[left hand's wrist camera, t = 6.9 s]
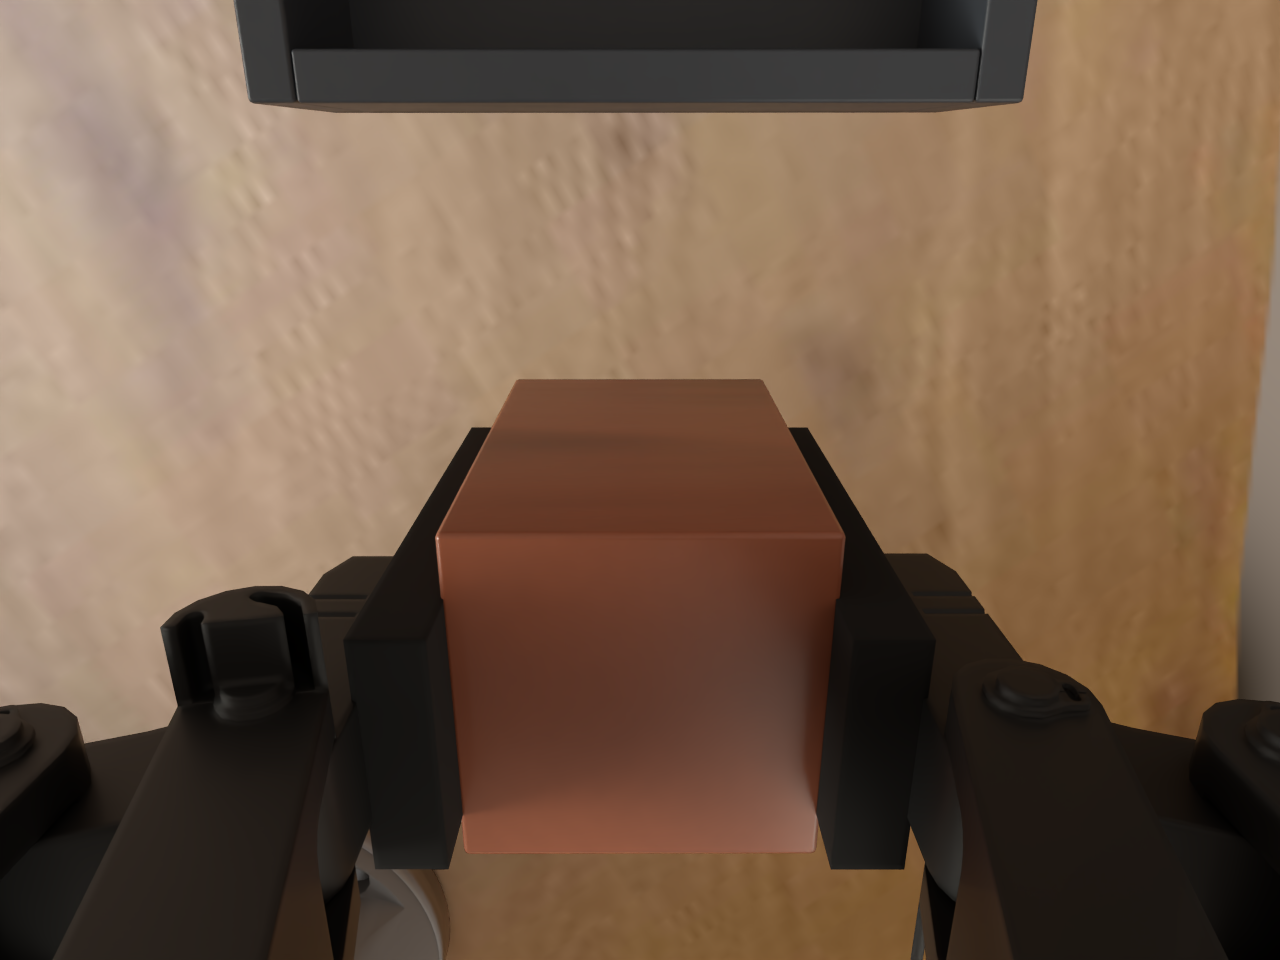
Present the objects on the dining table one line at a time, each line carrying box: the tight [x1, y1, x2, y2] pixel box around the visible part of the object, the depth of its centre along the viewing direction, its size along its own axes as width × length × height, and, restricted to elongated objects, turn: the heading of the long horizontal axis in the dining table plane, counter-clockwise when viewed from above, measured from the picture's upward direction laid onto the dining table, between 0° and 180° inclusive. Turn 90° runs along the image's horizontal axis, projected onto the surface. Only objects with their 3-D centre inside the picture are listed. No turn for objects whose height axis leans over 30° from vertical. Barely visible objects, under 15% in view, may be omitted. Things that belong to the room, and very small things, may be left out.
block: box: [435, 379, 846, 854], centre depth 12 cm, size 4×4×6 cm
